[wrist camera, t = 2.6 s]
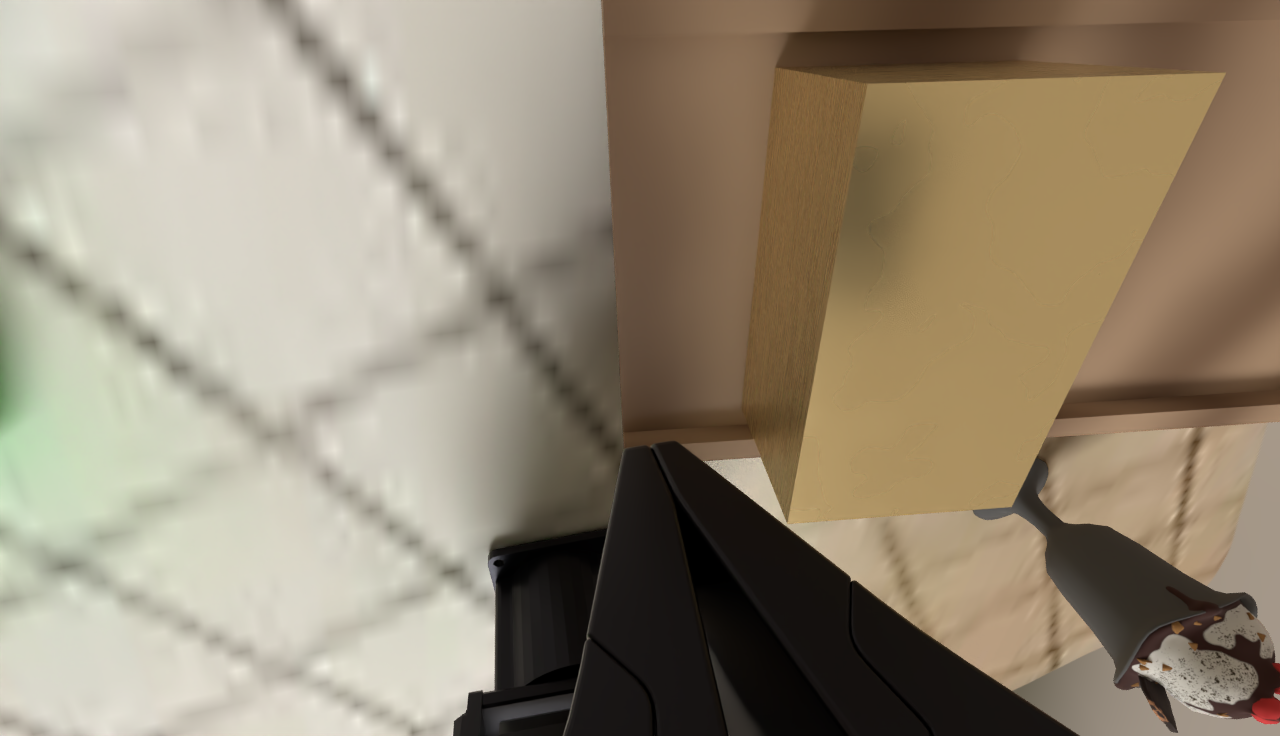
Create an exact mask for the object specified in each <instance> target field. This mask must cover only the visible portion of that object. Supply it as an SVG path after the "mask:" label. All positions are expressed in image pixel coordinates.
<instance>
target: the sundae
mask: <svg viewBox="0 0 1280 736" xmlns="http://www.w3.org/2000/svg"><path fill="white" fill-rule="evenodd" d="M1047 477H1048V468H1047V465H1046V463H1045V462H1043V461H1042V460H1040V459H1035V461H1034V463H1033V465H1032V467H1031V469H1030V471H1029V473H1028V475H1027V477H1026V479H1025V481H1024V483H1023V485H1022V487H1021V489H1020V491H1019V493H1018V495H1017V497H1016V499H1015V501H1014V503H1013V505H1012V507H1005V508H992V509H978V510H973V512H974V514H975V515H976V516H978V517H979V518H982V519H985V520H993V519H999V518H1002V517H1005V516H1008V515H1011V514H1013V513H1015V514H1018V515H1020V516H1021V517H1023V518H1025V519H1026V520H1027V521H1029V522H1030V523H1031V524H1033V525H1034V526H1035V527H1036V528H1037V529H1038V530H1039V531H1040V532H1041V533H1042V534H1043V535H1045V536H1046V539H1047V548H1046V552H1045V559H1046V569H1047V573H1048V575H1049V576H1050V578H1051V579H1052V580H1053V582H1054V583H1055V585H1056V586H1057V588H1058V589H1059V590H1060V592H1061V593H1062V595H1063V596H1064V597H1065V598H1066V600H1067V601H1068V602H1069V603H1070V604H1071V606H1072V607H1073V608H1074V609H1075V610H1076V612H1077V613H1078V614H1079V615H1080V617H1081V618H1082V619H1083V620H1084V621H1085V623H1086V624H1087V625H1088V626H1089V627H1090V629H1091V630H1092V631H1093V632H1094V634H1095V635H1096V637H1097V638H1098V639H1099V641H1100V642H1101V643H1102V645H1103V646H1104V648H1105V649H1106V650H1107V652H1108V653H1109V654H1110V656H1111V657H1112V659H1113V660H1114V663H1115V667H1116V671H1115V675H1114V680H1113V681H1114V684H1115V686H1116V687H1117V688H1119V689H1122V690H1129V689H1132V688H1135V687H1137V688H1141V689H1142V691H1143V693H1144V695H1145V696H1146V698H1147V700H1148V702H1149V704H1150V706H1151V708H1152V710H1153V711H1154V713H1155V714H1156V715H1157V716H1158V717H1159V719H1160V720H1161V721H1163V722H1164V723H1165V724H1166V726H1167V727H1168V728H1169V730H1170V731H1171V732H1176V733H1178V731H1177V727H1176V723H1175V720H1174V716H1173V714H1172V710H1171V705H1170V701H1169V699H1168V697H1167V694H1166V691H1165V689H1166V690H1167V691H1168V693H1169V694H1170V695H1171V696H1173V697H1174V698H1175V699H1177V700H1178V701H1180V702H1181V703H1182V704H1184V705H1185V706H1187V707H1188V708H1189V709H1191V710H1192V711H1195V712H1199V713H1203V714H1207V715H1211V716H1215V717H1219V718H1225V719H1242V718H1248V717H1252V716H1253V717H1254V718H1255V719H1256V720H1257V721H1259V722H1261V723H1264V724H1277V723H1279V722H1280V701H1279V700H1278V699H1277V698H1275V697H1274V693H1276V694H1280V664H1279V663H1275V651H1274V646H1273V642H1272V640H1271V637H1270V635H1269V633H1268V631H1267V630H1266V628H1265V627H1264V626H1263V624H1262V623H1261V622H1260V621H1259V620H1258V619H1257V606H1256V602H1255V601H1254V599H1253V598H1252V597H1251V596H1250V595H1248V594H1246V593H1245V592H1244V593H1228V594H1226V593H1222V592H1218V591H1214V590H1212V589H1211V588H1209V587H1207V586H1205V585H1203V584H1202V583H1200V582H1198V581H1196V580H1195V579H1193V578H1191V577H1189V576H1187V575H1186V574H1184V573H1182V572H1181V571H1179V570H1178V569H1176V568H1175V567H1173V566H1172V565H1170V564H1169V563H1167V562H1166V561H1164V560H1163V559H1161V558H1160V557H1158V556H1157V555H1155V554H1154V553H1152V552H1151V551H1149V550H1148V549H1146V548H1144V547H1143V546H1141V545H1140V544H1138V543H1136V542H1135V541H1133V540H1131V539H1129V538H1128V537H1126V536H1124V535H1122V534H1121V533H1119V532H1117V531H1115V530H1114V529H1112V528H1110V527H1108V526H1101V525H1094V524H1068V523H1064V522H1063V521H1061V520H1060V519H1059V518H1058V517H1057V516H1055V515H1054V514H1053V513H1052V512H1051V511H1050V510H1049V509H1048V508H1047V507H1046V506H1045V505H1044V504H1043V503H1042V501H1041V500H1040V499H1039V497H1038V494H1039V493H1040V491H1041V490H1042V488H1043V487H1044V485H1045V483H1046V480H1047Z"/></svg>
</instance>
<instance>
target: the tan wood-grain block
mask: <svg viewBox="0 0 1280 736" xmlns="http://www.w3.org/2000/svg"><path fill="white" fill-rule="evenodd" d="M1225 74H1226V73H1224V72H1207V71H1190V70H1173V69H1156V68H1139V67H1123V66H1106V65H1089V64H1072V63H1055V62H1038V61H1021V60H1013V61H979V62H945V63H910V64H876V65H842V66H808V67H775V73H774V83H773V93H772V103H771V113H770V124H769V134H768V144H767V154H766V164H765V174H764V184H763V194H762V205H761V215H760V225H759V235H758V245H757V255H756V265H755V275H754V285H753V296H752V306H751V316H750V326H749V336H748V346H747V356H746V366H745V377H744V387H743V397H742V407H741V409H742V411H743V414H744V416H745V419H746V421H747V424H748V426H749V429H750V431H751V434H752V436H753V439H754V441H755V444H756V446H757V449H758V451H759V454H760V456H761V459H762V461H763V464H764V467H765V469H766V472H767V474H768V477H769V479H770V482H771V484H772V487H773V489H774V492H775V494H776V497H777V499H778V502H779V504H780V507H781V509H782V512H783V514H784V517H785V519H786V522H787V524H793V523H806V522H819V521H833V520H846V519H859V518H872V517H886V516H899V515H912V514H925V513H939V512H952V511H965V510H978V509H992V508H1005V507H1012V505H1013V503H1014V501H1015V499H1016V497H1017V495H1018V493H1019V491H1020V489H1021V487H1022V485H1023V483H1024V481H1025V479H1026V477H1027V475H1028V473H1029V471H1030V469H1031V467H1032V465H1033V463H1034V461H1035V459H1036V457H1037V455H1038V453H1039V451H1040V449H1041V447H1042V444H1043V442H1044V440H1045V438H1046V436H1047V434H1048V432H1049V430H1050V428H1051V426H1052V424H1053V422H1054V420H1055V418H1056V416H1057V414H1058V412H1059V410H1060V408H1061V406H1062V404H1063V402H1064V400H1065V398H1066V396H1067V394H1068V392H1069V390H1070V388H1071V386H1072V384H1073V382H1074V380H1075V378H1076V376H1077V374H1078V372H1079V370H1080V368H1081V366H1082V364H1083V362H1084V359H1085V357H1086V355H1087V353H1088V351H1089V349H1090V347H1091V345H1092V343H1093V341H1094V339H1095V337H1096V335H1097V333H1098V331H1099V329H1100V327H1101V325H1102V323H1103V321H1104V319H1105V317H1106V315H1107V313H1108V311H1109V309H1110V307H1111V305H1112V303H1113V301H1114V299H1115V297H1116V295H1117V293H1118V291H1119V289H1120V287H1121V285H1122V283H1123V281H1124V279H1125V277H1126V274H1127V272H1128V270H1129V268H1130V266H1131V264H1132V262H1133V260H1134V258H1135V256H1136V254H1137V252H1138V250H1139V248H1140V246H1141V244H1142V242H1143V240H1144V238H1145V236H1146V234H1147V232H1148V230H1149V228H1150V226H1151V224H1152V222H1153V220H1154V218H1155V216H1156V214H1157V212H1158V210H1159V208H1160V206H1161V204H1162V202H1163V200H1164V198H1165V196H1166V194H1167V192H1168V190H1169V187H1170V185H1171V183H1172V181H1173V179H1174V177H1175V175H1176V173H1177V171H1178V169H1179V167H1180V165H1181V163H1182V161H1183V159H1184V157H1185V155H1186V153H1187V151H1188V149H1189V147H1190V145H1191V143H1192V141H1193V139H1194V137H1195V135H1196V133H1197V131H1198V129H1199V127H1200V125H1201V123H1202V121H1203V119H1204V117H1205V115H1206V113H1207V111H1208V109H1209V107H1210V105H1211V102H1212V100H1213V98H1214V96H1215V94H1216V92H1217V90H1218V88H1219V86H1220V84H1221V82H1222V80H1223V78H1224V76H1225Z"/></svg>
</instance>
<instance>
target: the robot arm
mask: <svg viewBox="0 0 1280 736" xmlns="http://www.w3.org/2000/svg"><path fill="white" fill-rule="evenodd" d="M488 567H489V571H490V575H491V578H492V582H493V586H494V590H495V691H490V692H484V693H483V690H481V691H475V692H469V695H468V705H467V710H466V713H464V714H462V716H460V717H459V718H458V719H456V720H455V721H454V732H453V736H1079V735H1078V734H1076V733H1075V732H1073V731H1072V730H1070V729H1069V728H1067V727H1066V726H1064V725H1063V724H1061V723H1060V722H1058V721H1057V720H1055V719H1054V718H1052V717H1051V716H1049V715H1048V714H1046V713H1044V712H1043V711H1041V710H1040V709H1038V708H1037V707H1035V706H1034V705H1032V704H1031V703H1029V702H1028V701H1026V700H1025V699H1023V698H1022V697H1020V696H1019V695H1017V694H1015V693H1014V692H1013V691H1011V690H1010V689H1008V688H1006V687H1005V686H1003V685H1002V684H1000V683H999V682H997V681H996V680H994V679H993V678H991V677H990V676H988V675H987V674H985V673H984V672H982V671H981V670H979V669H978V668H976V667H975V666H973V665H971V664H970V663H968V662H967V661H965V660H964V659H963V658H961V657H960V656H958V655H957V654H955V653H954V652H952V651H951V650H949V649H948V648H946V647H945V646H944V645H942V644H941V643H939V642H938V641H936V640H935V639H933V638H932V637H930V636H929V635H927V634H926V633H925V632H923V631H922V630H920V629H919V628H917V627H916V626H915V625H913V624H912V623H911V622H909V621H908V620H907V619H905V618H904V617H903V616H901V615H900V614H899V613H897V612H896V611H895V610H893V609H892V608H891V607H889V606H888V605H887V604H885V603H884V602H883V601H881V600H880V599H879V598H877V597H876V596H875V595H874V594H872V593H871V592H870V591H868V590H867V589H866V588H865V587H863V586H862V585H861V584H859V583H858V582H857V581H852V582H851V578H850V576H849V575H848V574H846V573H845V572H844V571H842V570H841V569H840V568H839V567H837V566H836V565H835V564H834V563H832V562H831V561H830V560H828V559H827V558H826V557H825V556H823V555H822V554H821V553H819V552H818V551H817V550H816V549H814V548H813V547H812V546H811V545H809V544H808V543H807V542H805V541H804V540H803V539H802V538H800V537H799V536H798V535H796V534H795V533H794V532H793V531H791V530H790V529H789V528H788V527H786V526H785V525H784V524H782V523H781V522H780V521H779V520H777V519H776V518H775V517H773V516H772V515H771V514H770V513H768V512H767V511H766V510H765V509H763V508H762V507H761V506H759V505H758V504H757V503H756V502H754V501H753V500H752V499H750V498H749V497H748V496H747V495H745V494H744V493H743V492H742V491H740V490H739V489H738V488H736V487H735V486H734V485H733V484H731V483H730V482H729V481H727V480H726V479H725V478H724V477H722V476H721V475H720V474H719V473H717V472H716V471H715V470H713V469H712V468H711V467H710V466H708V465H707V464H706V463H704V462H703V461H702V460H701V459H699V458H698V457H697V456H696V455H694V454H693V453H692V452H690V451H689V450H688V449H687V448H685V447H684V446H683V445H681V444H680V443H679V442H677V441H673V440H672V441H665V442H659V443H654V444H652V445H651V446H650V447H649V446H648V445H641V446H634V447H628V448H625V449H624V450H623V452H622V457H621V462H620V467H619V472H618V477H617V483H616V488H615V493H614V498H613V503H612V508H611V513H610V518H609V523H608V529H604V530H598V531H593V532H588V533H582V534H577V535H572V536H566V537H561V538H556V539H550V540H545V541H540V542H534V543H529V544H524V545H518V546H513V547H508V548H502V549H497V550H494V551H492V552H491V553H490V554H489V555H488ZM728 733H729V734H728Z"/></svg>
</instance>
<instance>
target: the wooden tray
mask: <svg viewBox="0 0 1280 736" xmlns="http://www.w3.org/2000/svg"><path fill="white" fill-rule="evenodd" d="M601 6H602V26H603V46H604V66H605V86H606V106H607V127H608V147H609V167H610V187H611V207H612V227H613V247H614V267H615V287H616V308H617V328H618V348H619V368H620V388H621V408H622V428H623V444H624V449H625V448H628V447H634V446H641V445H648V446H649V447H650V446H651V445H652V444H654V443H659V442H665V441H672V440H673V441H677V442H679V443H680V444H681V445H683V446H684V447H685V448H687V449H688V450H689V451H690V452H692V453H693V454H694V455H696V456H697V457H698V458H699V459H701V460H702V461H710V460H725V459H740V458H754V457H761V456H760V454H759V451H758V449H757V446H756V444H755V441H754V439H753V436H752V434H751V431H750V429H749V426H748V424H747V421H746V419H745V416H744V414H743V411H742V409H741V407H742V397H743V387H744V377H745V366H746V356H747V346H748V336H749V326H750V316H751V306H752V296H753V285H754V275H755V265H756V255H757V245H758V235H759V225H760V215H761V205H762V194H763V184H764V174H765V164H766V154H767V144H768V134H769V124H770V113H771V103H772V93H773V83H774V73H775V67H808V66H842V65H876V64H910V63H945V62H979V61H1013V60H1021V61H1038V62H1055V63H1072V64H1089V65H1106V66H1123V67H1139V68H1156V69H1173V70H1190V71H1207V72H1224V73H1226V74H1225V76H1224V78H1223V80H1222V82H1221V84H1220V86H1219V88H1218V90H1217V92H1216V94H1215V96H1214V98H1213V100H1212V102H1211V105H1210V107H1209V109H1208V111H1207V113H1206V115H1205V117H1204V119H1203V121H1202V123H1201V125H1200V127H1199V129H1198V131H1197V133H1196V135H1195V137H1194V139H1193V141H1192V143H1191V145H1190V147H1189V149H1188V151H1187V153H1186V155H1185V157H1184V159H1183V161H1182V163H1181V165H1180V167H1179V169H1178V171H1177V173H1176V175H1175V177H1174V179H1173V181H1172V183H1171V185H1170V187H1169V190H1168V192H1167V194H1166V196H1165V198H1164V200H1163V202H1162V204H1161V206H1160V208H1159V210H1158V212H1157V214H1156V216H1155V218H1154V220H1153V222H1152V224H1151V226H1150V228H1149V230H1148V232H1147V234H1146V236H1145V238H1144V240H1143V242H1142V244H1141V246H1140V248H1139V250H1138V252H1137V254H1136V256H1135V258H1134V260H1133V262H1132V264H1131V266H1130V268H1129V270H1128V272H1127V274H1126V277H1125V279H1124V281H1123V283H1122V285H1121V287H1120V289H1119V291H1118V293H1117V295H1116V297H1115V299H1114V301H1113V303H1112V305H1111V307H1110V309H1109V311H1108V313H1107V315H1106V317H1105V319H1104V321H1103V323H1102V325H1101V327H1100V329H1099V331H1098V333H1097V335H1096V337H1095V339H1094V341H1093V343H1092V345H1091V347H1090V349H1089V351H1088V353H1087V355H1086V357H1085V359H1084V362H1083V364H1082V366H1081V368H1080V370H1079V372H1078V374H1077V376H1076V378H1075V380H1074V382H1073V384H1072V386H1071V388H1070V390H1069V392H1068V394H1067V396H1066V398H1065V400H1064V402H1063V404H1062V406H1061V408H1060V410H1059V412H1058V414H1057V416H1056V418H1055V420H1054V422H1053V424H1052V426H1051V428H1050V430H1049V432H1048V434H1047V436H1046V438H1047V437H1062V436H1077V435H1091V434H1106V433H1121V432H1135V431H1150V430H1165V429H1179V428H1194V427H1209V426H1223V425H1238V424H1253V423H1267V422H1280V0H601Z"/></svg>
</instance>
